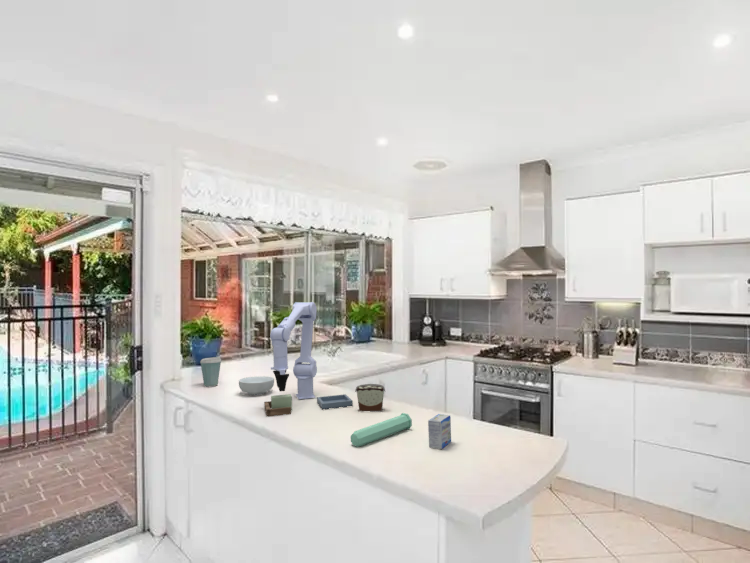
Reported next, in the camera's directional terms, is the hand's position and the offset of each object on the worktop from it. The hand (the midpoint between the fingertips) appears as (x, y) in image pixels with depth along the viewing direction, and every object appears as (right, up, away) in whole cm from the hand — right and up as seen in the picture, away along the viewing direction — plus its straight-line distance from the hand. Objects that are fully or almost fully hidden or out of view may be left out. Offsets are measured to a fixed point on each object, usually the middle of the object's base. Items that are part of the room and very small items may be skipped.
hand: (281, 389), depth 185 cm
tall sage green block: (0, -9, 0) cm, 9 cm away
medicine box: (+60, -7, -44) cm, 75 cm away
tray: (+22, -8, +7) cm, 24 cm away
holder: (-1, -9, -1) cm, 9 cm away
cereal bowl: (-18, -10, +31) cm, 38 cm away
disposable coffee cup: (-48, -11, +51) cm, 71 cm away
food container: (+38, -8, -2) cm, 39 cm away
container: (+41, -8, -36) cm, 55 cm away
